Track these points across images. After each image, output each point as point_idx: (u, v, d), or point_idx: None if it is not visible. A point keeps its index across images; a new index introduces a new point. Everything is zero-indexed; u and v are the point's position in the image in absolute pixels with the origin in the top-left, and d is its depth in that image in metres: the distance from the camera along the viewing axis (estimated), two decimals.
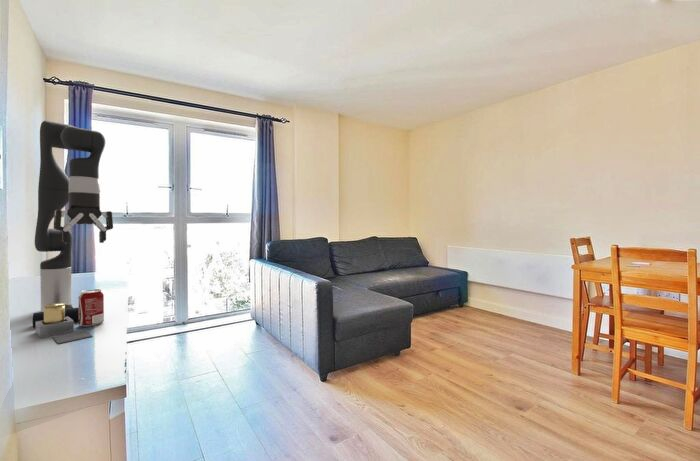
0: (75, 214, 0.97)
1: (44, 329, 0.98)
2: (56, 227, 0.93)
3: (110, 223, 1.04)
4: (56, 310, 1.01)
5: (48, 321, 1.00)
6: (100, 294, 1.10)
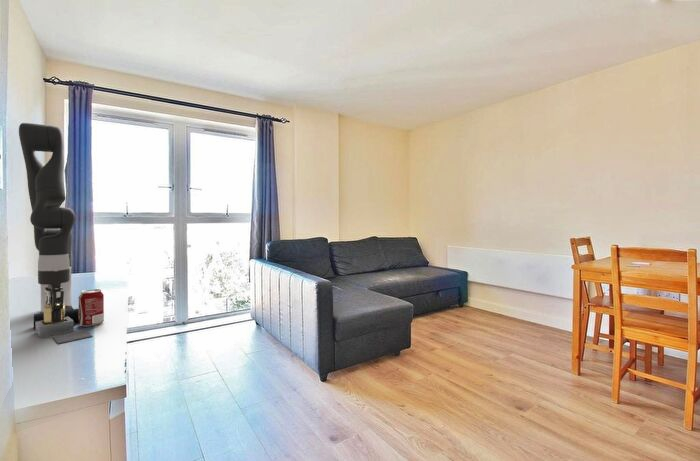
0: None
1: (44, 329, 0.98)
2: (62, 307, 1.00)
3: None
4: None
5: (47, 321, 1.00)
6: (100, 294, 1.10)
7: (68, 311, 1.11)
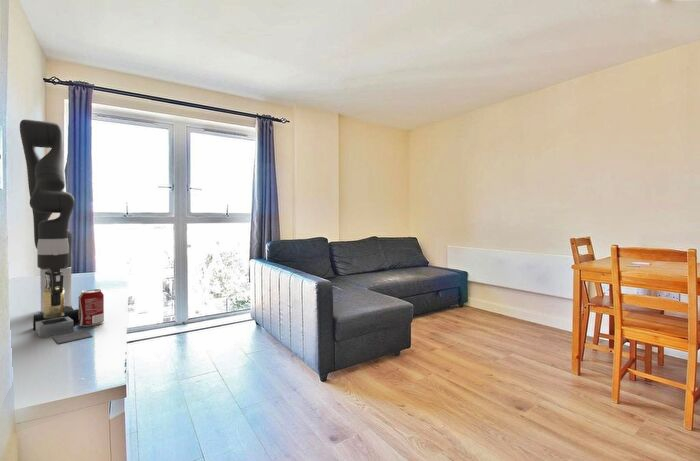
0: None
1: (44, 329, 0.98)
2: (62, 291, 1.00)
3: None
4: None
5: (47, 305, 1.00)
6: (100, 294, 1.10)
7: (68, 312, 1.10)
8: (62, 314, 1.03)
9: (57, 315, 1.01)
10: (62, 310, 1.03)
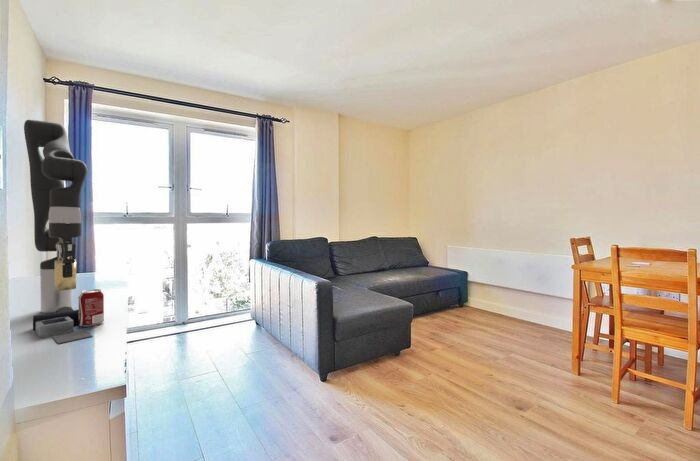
0: None
1: (44, 329, 0.98)
2: None
3: None
4: None
5: (58, 276, 0.95)
6: (100, 294, 1.10)
7: (68, 312, 1.09)
8: (74, 287, 0.98)
9: (69, 287, 0.96)
10: (74, 283, 0.98)
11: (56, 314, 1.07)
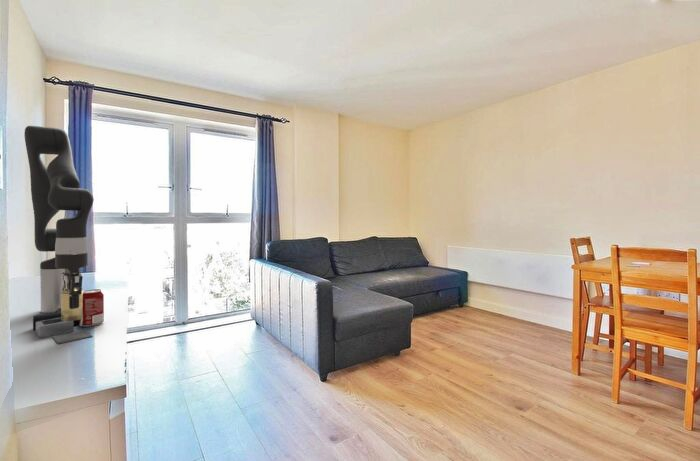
0: None
1: (44, 329, 0.98)
2: (81, 292, 0.95)
3: None
4: None
5: (65, 307, 0.95)
6: (100, 294, 1.10)
7: None
8: (80, 317, 0.98)
9: (75, 318, 0.96)
10: (80, 313, 0.98)
11: (56, 314, 1.07)
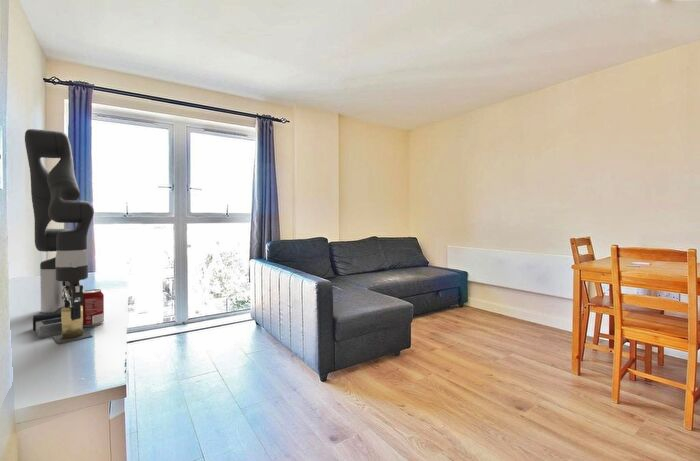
0: None
1: (44, 329, 0.98)
2: (82, 303, 0.94)
3: None
4: None
5: (65, 325, 0.95)
6: (100, 294, 1.10)
7: None
8: (81, 334, 0.98)
9: (76, 335, 0.96)
10: (81, 330, 0.98)
11: (56, 314, 1.07)
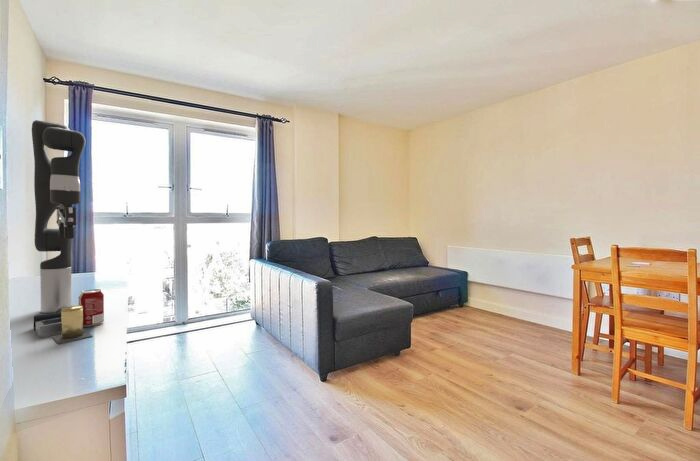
0: None
1: (44, 329, 0.98)
2: (75, 223, 1.02)
3: None
4: (75, 313, 0.96)
5: (65, 325, 0.95)
6: (100, 294, 1.10)
7: None
8: (81, 334, 0.98)
9: (76, 335, 0.96)
10: (81, 330, 0.98)
11: (57, 314, 1.07)
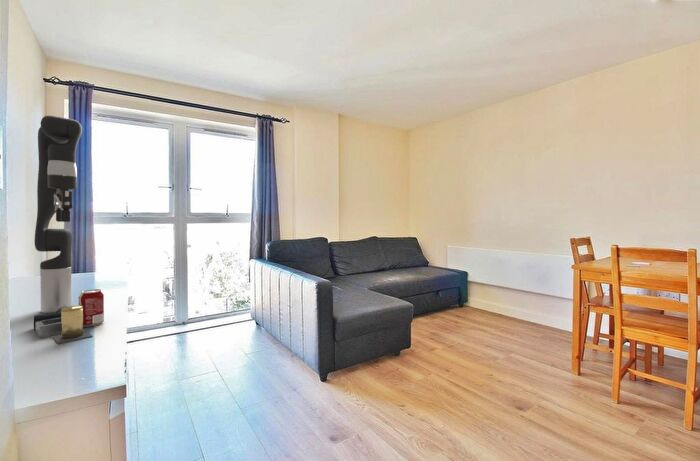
0: None
1: (44, 329, 0.98)
2: (71, 206, 1.06)
3: None
4: (75, 313, 0.96)
5: (65, 325, 0.95)
6: (100, 294, 1.10)
7: None
8: (81, 334, 0.98)
9: (76, 335, 0.96)
10: (81, 330, 0.98)
11: (57, 314, 1.07)
